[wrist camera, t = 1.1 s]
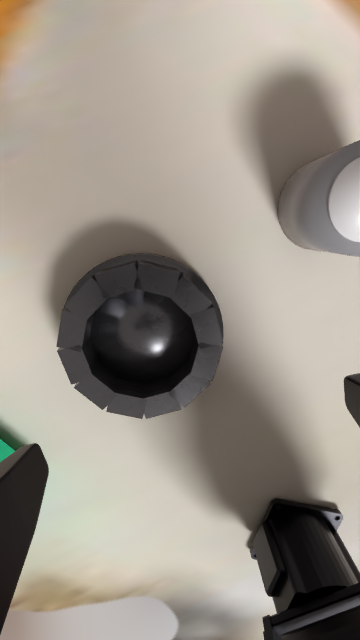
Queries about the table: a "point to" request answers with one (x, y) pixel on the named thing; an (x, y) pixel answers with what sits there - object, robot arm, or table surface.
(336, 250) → the cap
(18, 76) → the table surface
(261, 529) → the robot arm
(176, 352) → the dark grey ashtray
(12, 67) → the table surface
